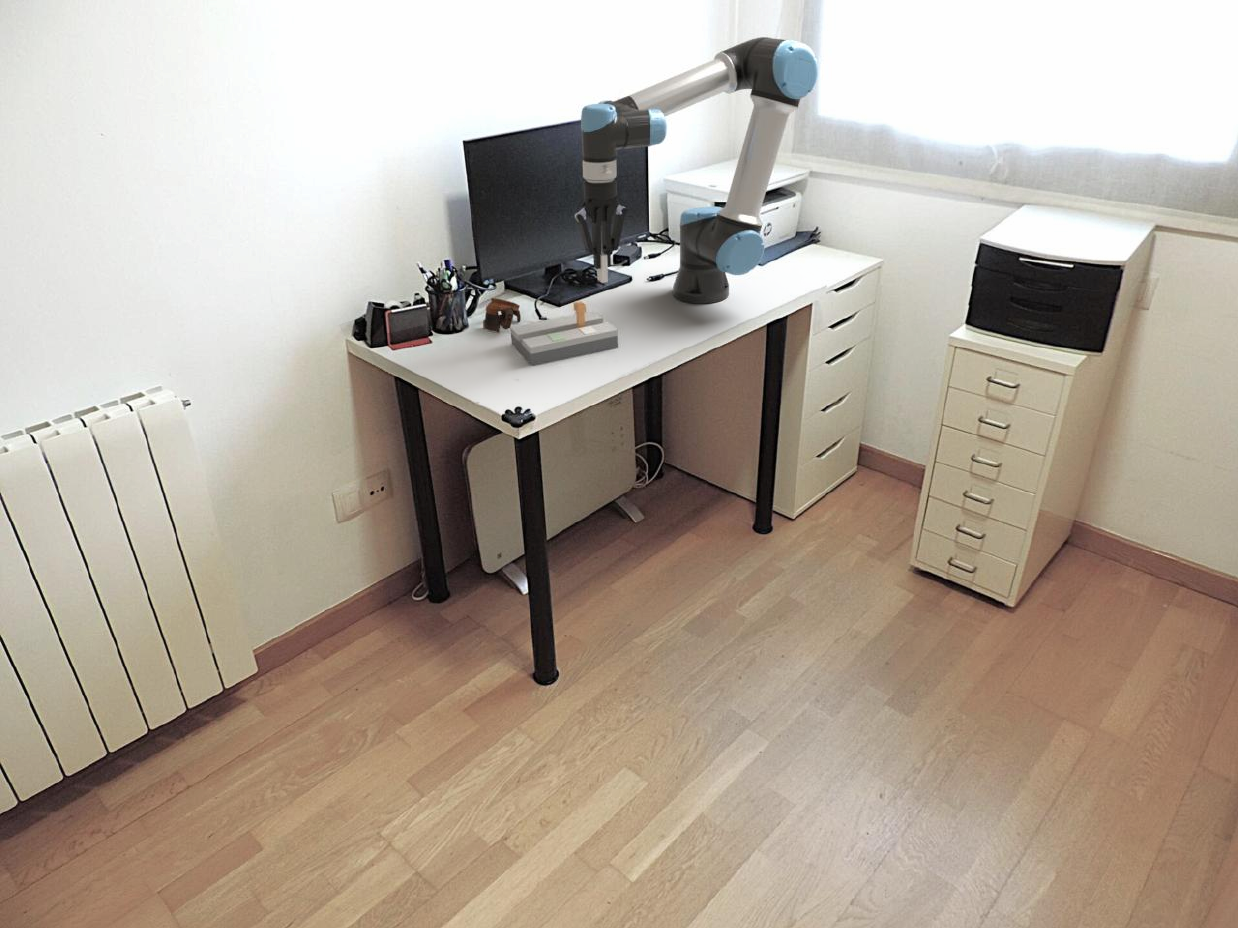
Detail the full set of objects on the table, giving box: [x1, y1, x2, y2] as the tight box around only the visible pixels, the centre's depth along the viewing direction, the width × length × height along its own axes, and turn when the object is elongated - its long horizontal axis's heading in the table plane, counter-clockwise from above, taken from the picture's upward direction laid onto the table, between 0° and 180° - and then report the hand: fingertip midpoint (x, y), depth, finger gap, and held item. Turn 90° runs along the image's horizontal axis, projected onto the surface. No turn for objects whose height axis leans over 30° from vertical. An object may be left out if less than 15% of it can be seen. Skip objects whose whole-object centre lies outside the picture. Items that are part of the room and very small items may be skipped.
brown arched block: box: [482, 297, 522, 333], centre depth 225 cm, size 12×10×8 cm
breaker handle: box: [573, 300, 587, 328], centre depth 213 cm, size 2×3×7 cm, turn 25°
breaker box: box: [509, 310, 619, 367], centre depth 214 cm, size 22×14×5 cm, turn 115°
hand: (602, 280), depth 211 cm, fingers closed
